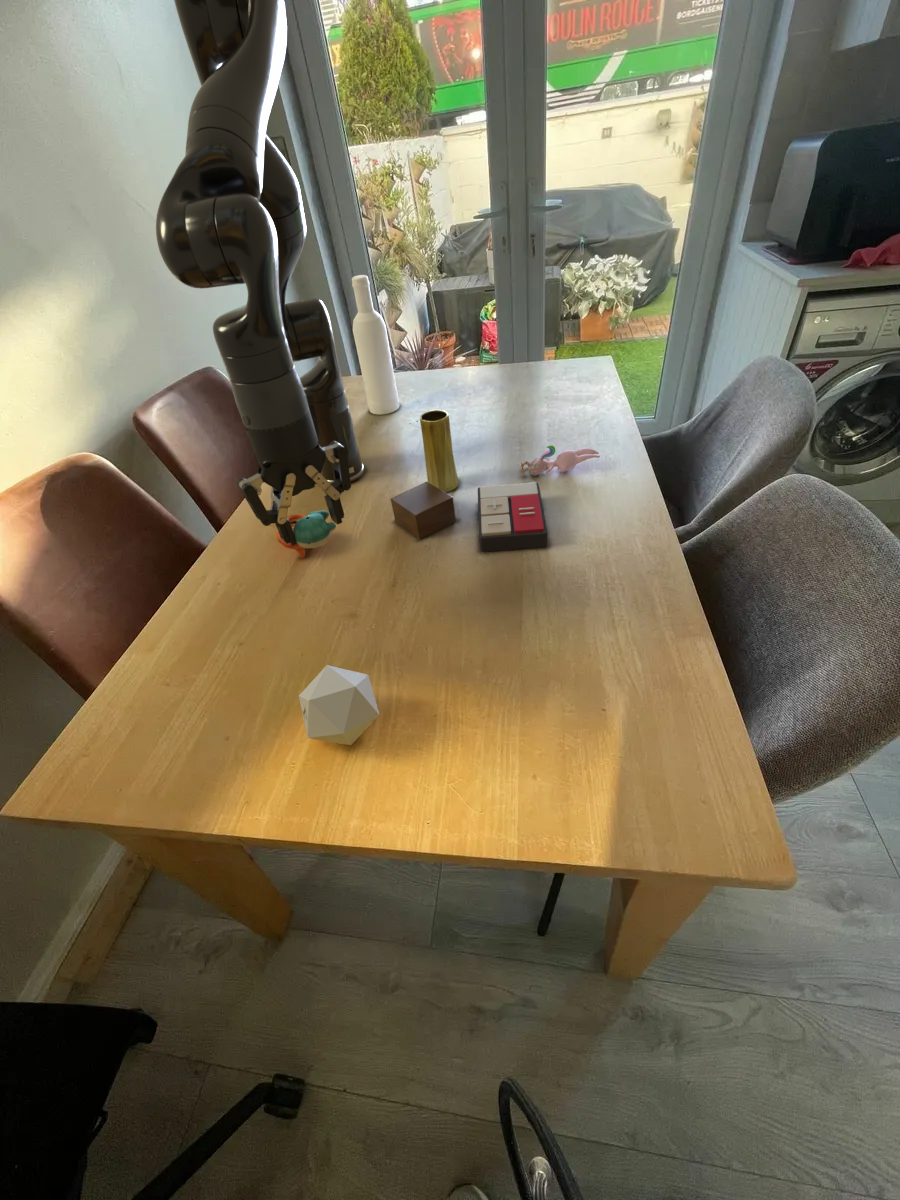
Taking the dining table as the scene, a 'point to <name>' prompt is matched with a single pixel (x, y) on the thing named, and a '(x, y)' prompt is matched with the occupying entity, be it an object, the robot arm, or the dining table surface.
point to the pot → (293, 521)
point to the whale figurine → (313, 530)
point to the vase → (438, 450)
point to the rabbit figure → (558, 460)
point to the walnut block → (423, 509)
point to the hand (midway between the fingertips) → (314, 531)
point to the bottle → (373, 351)
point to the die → (338, 705)
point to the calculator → (511, 517)
